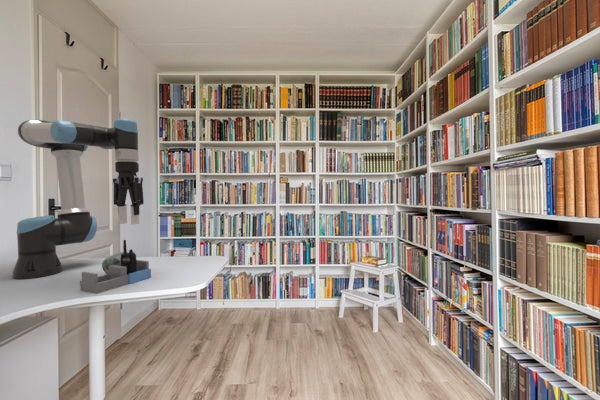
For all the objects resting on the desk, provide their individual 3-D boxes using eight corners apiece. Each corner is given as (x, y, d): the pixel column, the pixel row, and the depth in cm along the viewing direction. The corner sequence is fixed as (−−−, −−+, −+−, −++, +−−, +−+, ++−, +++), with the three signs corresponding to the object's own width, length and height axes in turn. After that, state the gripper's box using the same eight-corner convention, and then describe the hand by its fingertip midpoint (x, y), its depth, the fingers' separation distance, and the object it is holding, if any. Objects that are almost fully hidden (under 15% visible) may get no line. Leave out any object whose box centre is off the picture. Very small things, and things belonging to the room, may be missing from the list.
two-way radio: (119, 281, 110) (117, 240, 110) (126, 277, 115) (125, 238, 114) (134, 280, 110) (132, 240, 110) (140, 277, 114) (139, 238, 114)
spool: (120, 269, 113) (113, 246, 116) (98, 281, 114) (92, 257, 117) (144, 269, 127) (137, 248, 129) (125, 279, 127) (118, 258, 130)
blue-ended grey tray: (80, 289, 100) (79, 272, 100) (135, 274, 119) (134, 259, 118) (98, 293, 96) (97, 275, 96) (152, 277, 115) (151, 261, 114)
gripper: (100, 162, 112) (102, 224, 112) (135, 159, 104) (137, 225, 104) (120, 164, 118) (121, 222, 119) (153, 161, 110) (155, 223, 111)
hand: (129, 223), depth 112 cm, fingers open, 6 cm apart
